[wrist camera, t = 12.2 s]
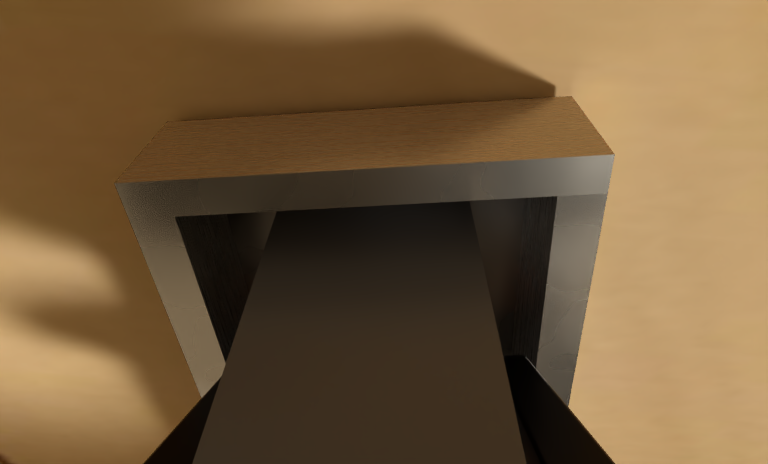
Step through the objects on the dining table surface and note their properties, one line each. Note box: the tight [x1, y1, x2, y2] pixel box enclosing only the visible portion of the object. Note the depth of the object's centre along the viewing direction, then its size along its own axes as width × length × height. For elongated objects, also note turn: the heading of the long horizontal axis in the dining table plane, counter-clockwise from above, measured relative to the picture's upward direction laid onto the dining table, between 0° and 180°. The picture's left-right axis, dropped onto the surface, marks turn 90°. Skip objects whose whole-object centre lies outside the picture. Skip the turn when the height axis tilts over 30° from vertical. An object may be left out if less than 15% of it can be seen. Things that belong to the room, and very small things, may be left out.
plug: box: [192, 201, 527, 464], centre depth 9 cm, size 4×4×8 cm
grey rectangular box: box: [114, 96, 615, 406], centre depth 13 cm, size 13×8×2 cm, turn 4°
